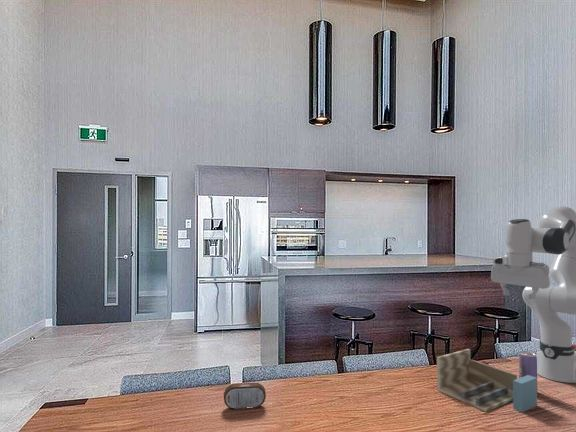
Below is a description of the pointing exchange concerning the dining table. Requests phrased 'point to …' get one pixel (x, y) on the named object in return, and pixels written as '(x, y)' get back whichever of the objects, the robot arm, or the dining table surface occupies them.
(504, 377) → the rack
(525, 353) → the beverage can
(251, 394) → the tin
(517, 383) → the light blue flat block
